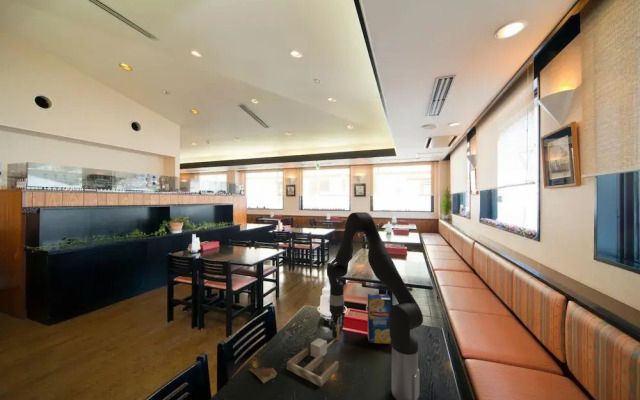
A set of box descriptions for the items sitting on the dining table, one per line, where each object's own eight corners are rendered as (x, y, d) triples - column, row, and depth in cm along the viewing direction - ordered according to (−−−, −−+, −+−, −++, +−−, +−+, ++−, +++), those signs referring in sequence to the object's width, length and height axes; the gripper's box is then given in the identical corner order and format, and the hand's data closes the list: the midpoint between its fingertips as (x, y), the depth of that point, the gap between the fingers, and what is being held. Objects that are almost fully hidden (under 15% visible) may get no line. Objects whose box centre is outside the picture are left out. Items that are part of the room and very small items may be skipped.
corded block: (342, 339, 130) (342, 323, 130) (319, 359, 113) (319, 341, 113) (333, 336, 132) (333, 321, 133) (310, 355, 116) (310, 338, 116)
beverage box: (391, 343, 126) (391, 299, 126) (368, 342, 127) (369, 298, 127) (388, 336, 133) (388, 294, 133) (367, 335, 134) (367, 293, 134)
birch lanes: (338, 368, 106) (338, 361, 106) (320, 387, 96) (320, 379, 96) (305, 354, 117) (305, 347, 117) (286, 369, 106) (286, 361, 106)
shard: (249, 371, 105) (249, 367, 105) (265, 363, 110) (265, 359, 110) (262, 385, 97) (262, 380, 97) (279, 375, 103) (279, 371, 103)
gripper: (335, 308, 122) (335, 344, 122) (349, 299, 134) (349, 332, 133) (323, 305, 126) (322, 339, 126) (337, 296, 138) (337, 328, 138)
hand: (336, 335), depth 130 cm, fingers closed on corded block, 3 cm apart
